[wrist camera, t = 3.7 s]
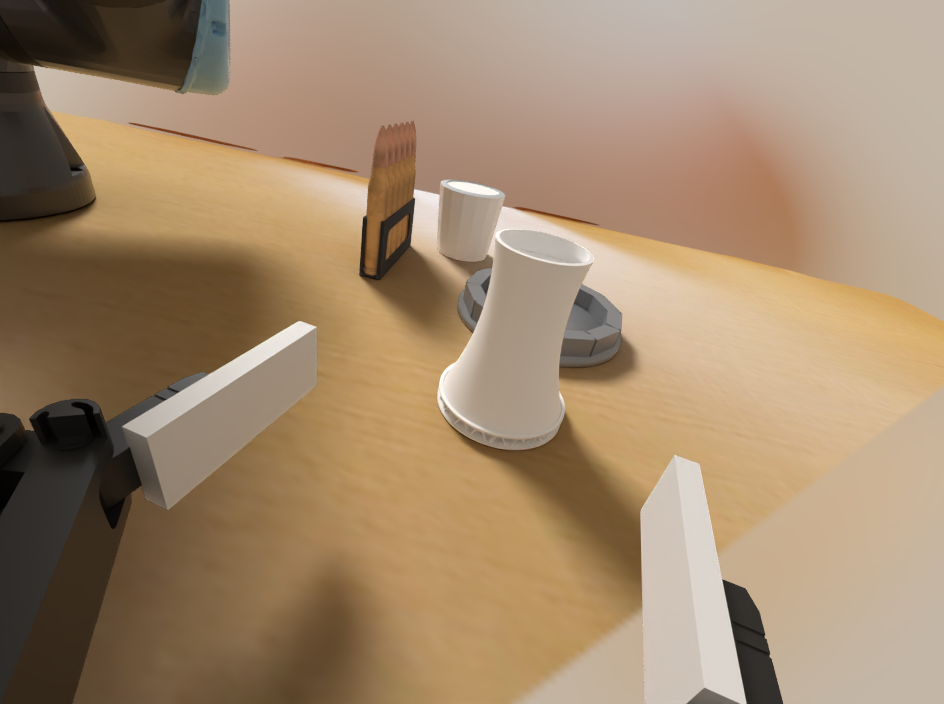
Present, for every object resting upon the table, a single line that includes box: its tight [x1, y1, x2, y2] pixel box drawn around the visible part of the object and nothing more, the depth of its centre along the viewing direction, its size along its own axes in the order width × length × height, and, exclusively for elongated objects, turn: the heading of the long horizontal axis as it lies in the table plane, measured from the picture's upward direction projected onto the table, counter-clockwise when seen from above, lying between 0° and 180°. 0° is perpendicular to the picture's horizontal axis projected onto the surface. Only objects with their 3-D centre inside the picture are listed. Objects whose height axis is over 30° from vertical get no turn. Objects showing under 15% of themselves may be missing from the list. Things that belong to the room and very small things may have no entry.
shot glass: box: [437, 180, 505, 262], centre depth 46 cm, size 7×7×7 cm
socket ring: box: [458, 268, 622, 368], centre depth 36 cm, size 14×14×2 cm
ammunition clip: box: [359, 121, 416, 280], centre depth 39 cm, size 11×2×12 cm, turn 172°
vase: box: [437, 229, 594, 450], centre depth 23 cm, size 8×8×10 cm
